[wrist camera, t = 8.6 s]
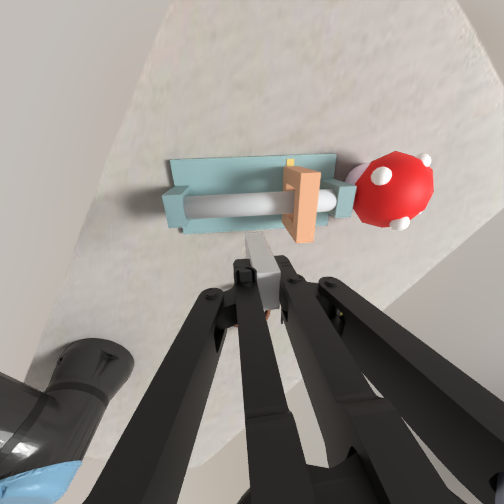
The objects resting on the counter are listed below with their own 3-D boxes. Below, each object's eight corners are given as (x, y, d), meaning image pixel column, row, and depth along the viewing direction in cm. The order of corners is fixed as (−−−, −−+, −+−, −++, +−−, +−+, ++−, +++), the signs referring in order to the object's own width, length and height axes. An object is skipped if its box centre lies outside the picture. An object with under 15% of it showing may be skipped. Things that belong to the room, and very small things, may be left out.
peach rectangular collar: (281, 222, 37) (296, 243, 29) (283, 166, 33) (301, 173, 25) (295, 221, 37) (313, 242, 29) (298, 165, 33) (321, 172, 25)
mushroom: (347, 142, 34) (402, 140, 23) (404, 158, 36) (479, 164, 25) (323, 206, 38) (360, 230, 28) (375, 218, 40) (428, 244, 30)
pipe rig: (184, 232, 38) (174, 252, 31) (171, 159, 32) (154, 163, 25) (324, 223, 40) (346, 241, 32) (334, 153, 34) (362, 155, 27)
